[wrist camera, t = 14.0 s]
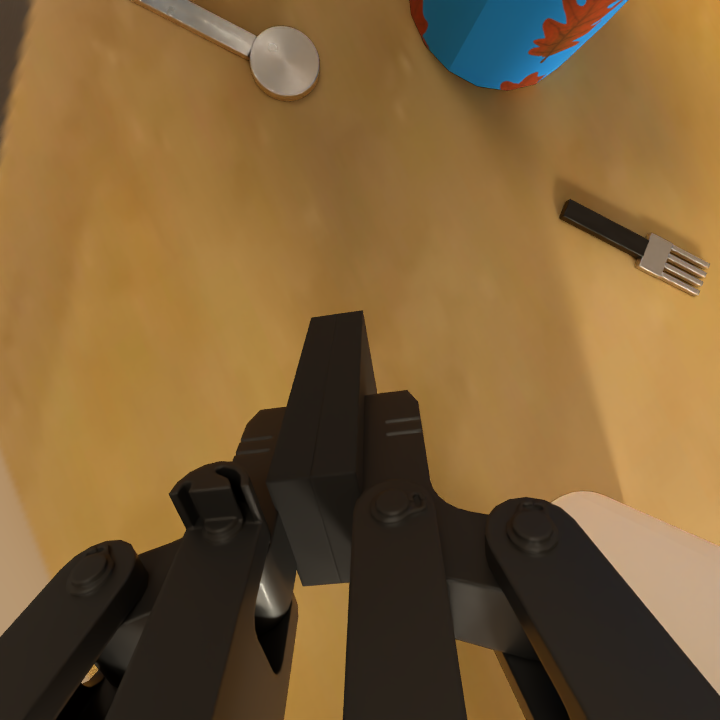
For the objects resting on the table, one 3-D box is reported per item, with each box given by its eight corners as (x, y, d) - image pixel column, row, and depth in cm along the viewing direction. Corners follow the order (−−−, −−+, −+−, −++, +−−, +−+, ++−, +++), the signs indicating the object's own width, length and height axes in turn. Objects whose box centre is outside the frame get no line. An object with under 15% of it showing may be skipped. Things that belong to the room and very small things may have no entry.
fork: (555, 227, 27) (560, 224, 26) (568, 192, 27) (573, 190, 26) (692, 296, 28) (700, 295, 28) (705, 264, 28) (712, 262, 28)
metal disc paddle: (117, 20, 23) (113, 11, 22) (146, -43, 23) (143, -53, 23) (303, 113, 24) (303, 107, 24) (329, 53, 25) (330, 46, 24)
